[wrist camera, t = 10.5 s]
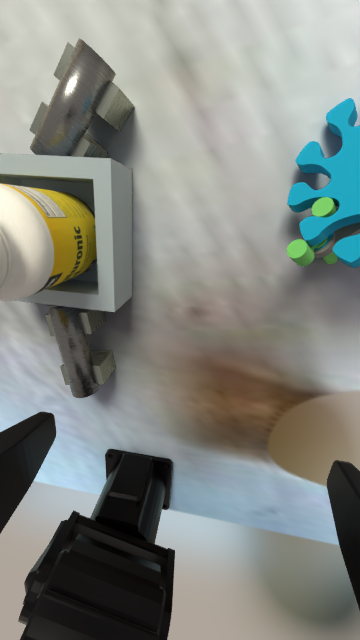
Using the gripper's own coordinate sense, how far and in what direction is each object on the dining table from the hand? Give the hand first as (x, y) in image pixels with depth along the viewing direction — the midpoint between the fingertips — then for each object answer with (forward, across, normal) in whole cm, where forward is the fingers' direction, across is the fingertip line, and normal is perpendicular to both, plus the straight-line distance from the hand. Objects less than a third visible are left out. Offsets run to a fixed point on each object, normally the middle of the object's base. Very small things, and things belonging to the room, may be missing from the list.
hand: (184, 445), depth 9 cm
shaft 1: (+12, +8, -12) cm, 19 cm away
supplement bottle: (+12, +10, -5) cm, 16 cm away
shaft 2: (+12, +9, +3) cm, 16 cm away
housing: (+12, +10, -5) cm, 17 cm away
